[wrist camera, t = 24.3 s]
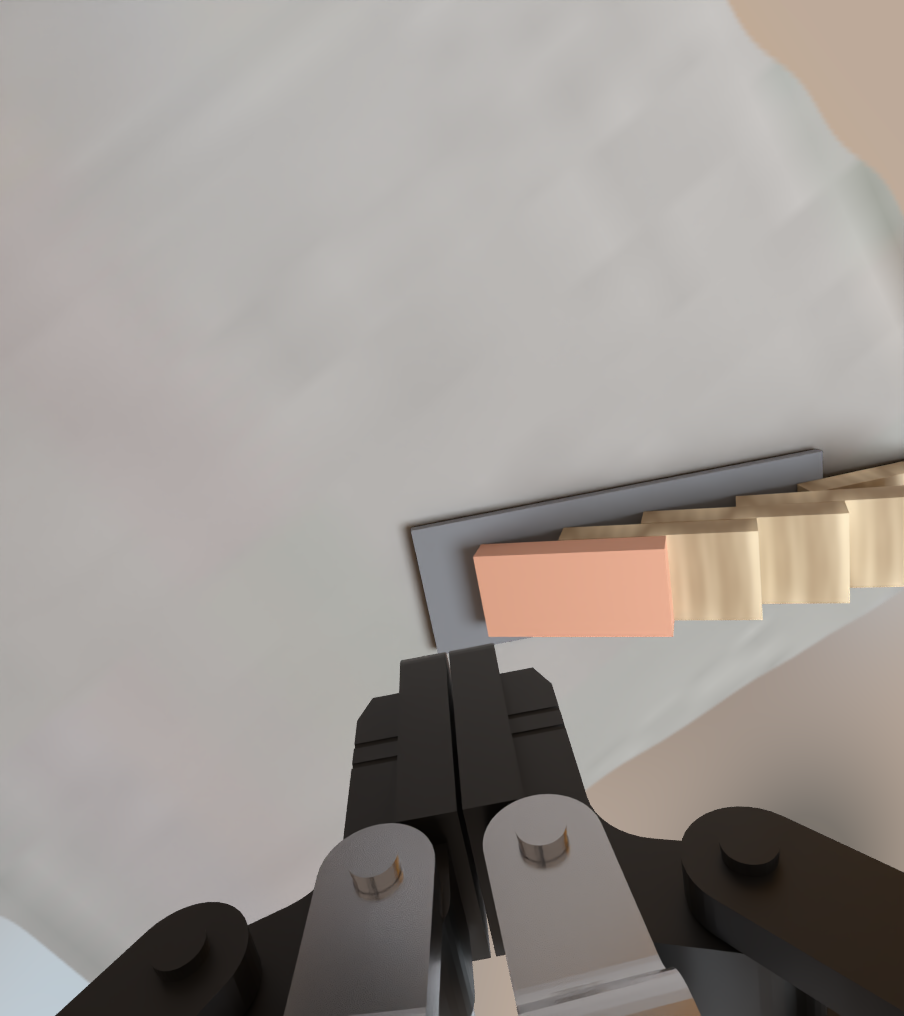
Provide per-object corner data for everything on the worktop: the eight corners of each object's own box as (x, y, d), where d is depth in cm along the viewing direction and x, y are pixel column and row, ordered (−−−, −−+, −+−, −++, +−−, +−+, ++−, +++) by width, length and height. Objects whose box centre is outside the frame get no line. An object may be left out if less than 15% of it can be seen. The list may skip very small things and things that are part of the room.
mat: (438, 650, 45) (438, 655, 44) (410, 527, 42) (410, 531, 41) (820, 577, 44) (825, 581, 44) (817, 448, 42) (822, 451, 41)
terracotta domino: (488, 636, 42) (673, 636, 39) (473, 556, 41) (664, 549, 37) (495, 622, 44) (674, 620, 40) (480, 544, 42) (666, 535, 38)
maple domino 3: (815, 576, 42) (985, 538, 42) (813, 492, 40) (990, 454, 40) (799, 565, 43) (964, 528, 44) (797, 484, 42) (968, 447, 42)
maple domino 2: (649, 604, 42) (849, 602, 38) (640, 523, 40) (849, 513, 37) (652, 591, 43) (845, 588, 40) (643, 511, 42) (844, 501, 38)
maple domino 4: (742, 590, 42) (952, 585, 38) (735, 507, 40) (955, 493, 36) (741, 576, 43) (944, 571, 39) (735, 496, 41) (947, 482, 38)
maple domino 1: (570, 620, 42) (762, 619, 39) (558, 539, 40) (758, 531, 37) (574, 606, 44) (760, 604, 40) (563, 527, 42) (756, 518, 38)
